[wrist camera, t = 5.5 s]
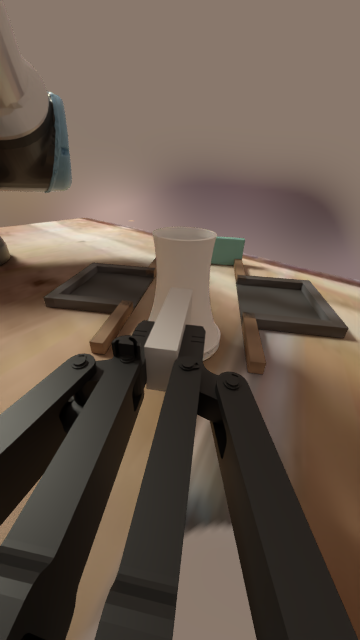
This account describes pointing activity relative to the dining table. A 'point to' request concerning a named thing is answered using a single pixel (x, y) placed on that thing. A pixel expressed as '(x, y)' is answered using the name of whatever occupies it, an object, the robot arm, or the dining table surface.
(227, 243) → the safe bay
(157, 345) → the robot arm
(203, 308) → the vase
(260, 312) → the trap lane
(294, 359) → the dining table surface
